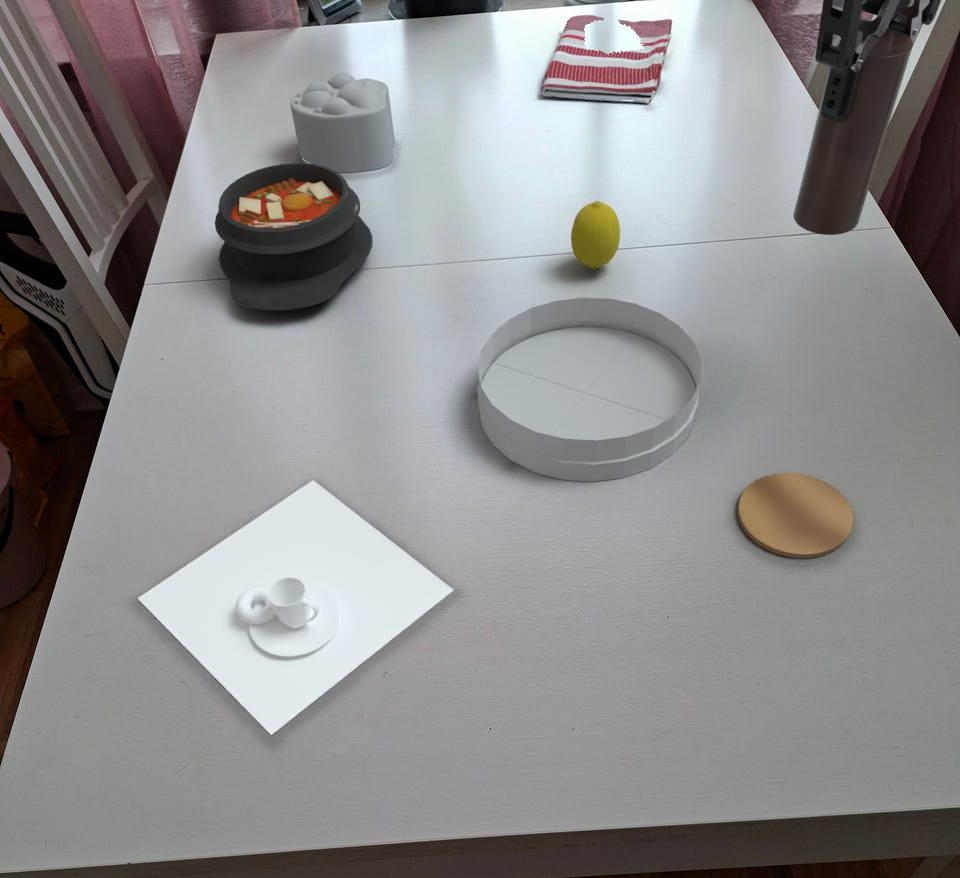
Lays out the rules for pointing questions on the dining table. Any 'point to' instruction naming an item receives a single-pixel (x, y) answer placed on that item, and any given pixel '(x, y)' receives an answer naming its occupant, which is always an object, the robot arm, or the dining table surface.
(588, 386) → the dish
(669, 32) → the dish towel
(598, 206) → the lemon
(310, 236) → the casserole
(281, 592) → the teacup and saucer
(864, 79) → the brown cylinder
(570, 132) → the dining table surface
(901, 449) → the dining table surface
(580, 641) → the dining table surface
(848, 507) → the coaster
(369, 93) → the lumpy-topped squat cylinder
